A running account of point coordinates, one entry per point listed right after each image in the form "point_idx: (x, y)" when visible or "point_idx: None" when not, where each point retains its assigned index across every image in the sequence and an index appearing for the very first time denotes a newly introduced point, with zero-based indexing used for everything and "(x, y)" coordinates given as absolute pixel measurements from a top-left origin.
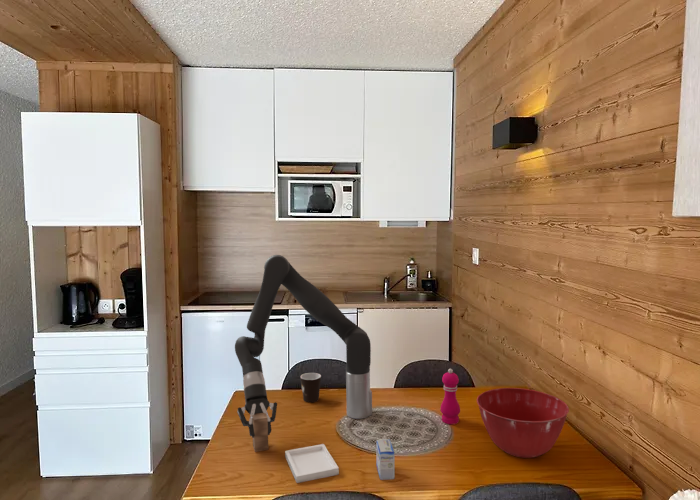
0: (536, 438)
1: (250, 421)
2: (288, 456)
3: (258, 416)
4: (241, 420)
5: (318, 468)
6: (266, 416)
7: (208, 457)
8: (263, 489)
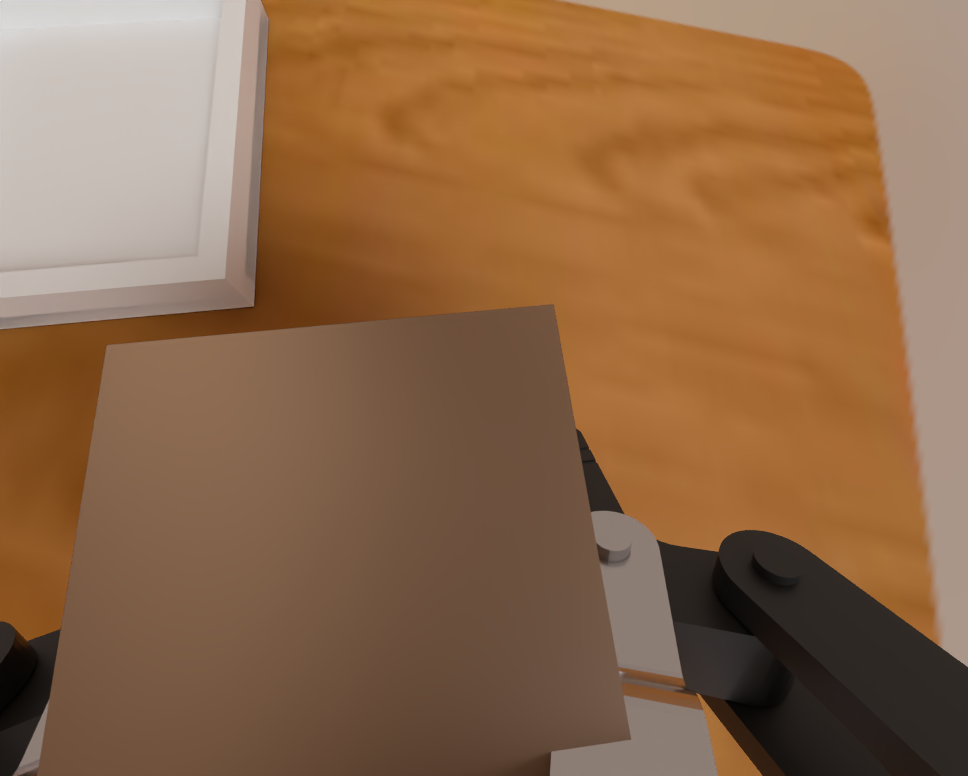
0: None
1: (626, 571)
2: (223, 186)
3: (386, 524)
4: (887, 772)
5: (77, 72)
6: (109, 445)
7: (908, 461)
8: (460, 13)
